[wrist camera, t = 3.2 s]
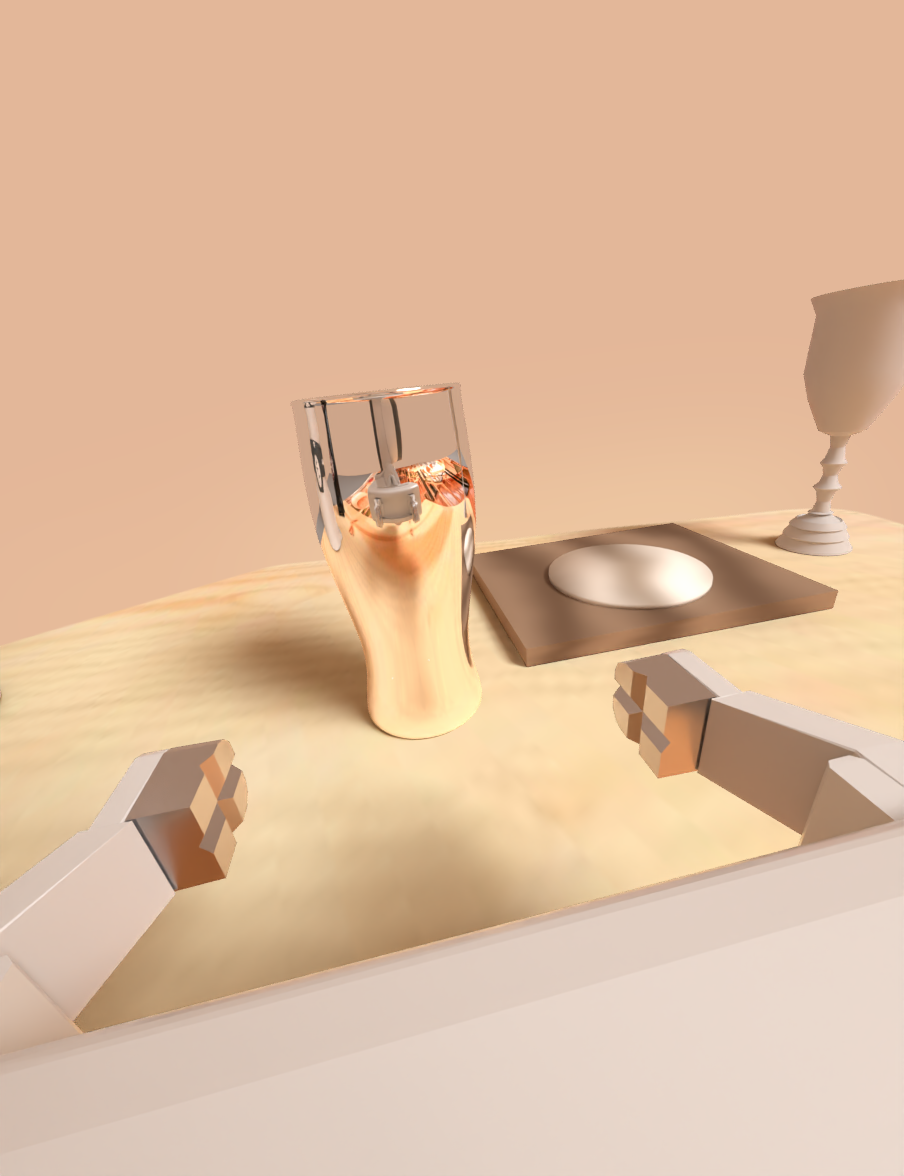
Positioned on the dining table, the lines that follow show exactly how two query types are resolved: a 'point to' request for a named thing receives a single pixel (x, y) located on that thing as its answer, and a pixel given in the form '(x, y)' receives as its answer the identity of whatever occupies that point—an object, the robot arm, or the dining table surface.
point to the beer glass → (399, 544)
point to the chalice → (847, 394)
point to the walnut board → (634, 591)
